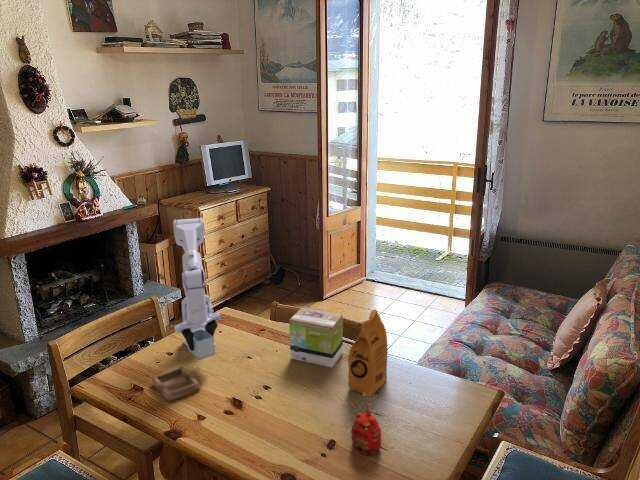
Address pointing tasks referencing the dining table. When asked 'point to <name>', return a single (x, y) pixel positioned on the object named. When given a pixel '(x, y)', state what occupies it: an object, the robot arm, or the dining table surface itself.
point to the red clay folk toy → (366, 432)
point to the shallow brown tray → (176, 384)
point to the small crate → (202, 344)
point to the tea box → (316, 337)
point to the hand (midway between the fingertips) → (200, 346)
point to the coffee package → (368, 356)
